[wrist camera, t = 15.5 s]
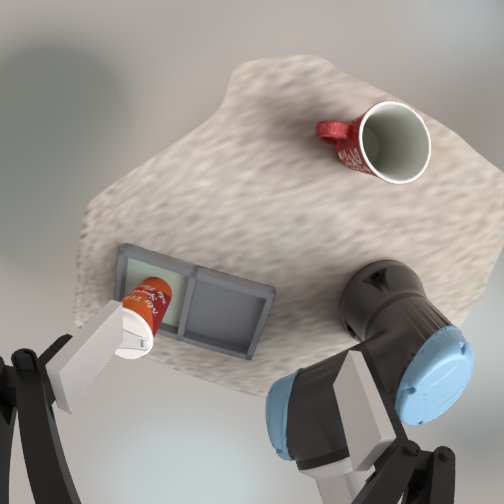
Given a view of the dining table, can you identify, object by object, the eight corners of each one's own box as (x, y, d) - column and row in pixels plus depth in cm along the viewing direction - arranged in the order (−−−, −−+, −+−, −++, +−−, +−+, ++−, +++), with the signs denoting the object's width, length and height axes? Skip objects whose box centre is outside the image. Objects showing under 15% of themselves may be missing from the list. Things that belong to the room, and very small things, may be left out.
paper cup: (180, 275, 46) (149, 320, 32) (177, 316, 48) (150, 368, 35) (135, 266, 45) (93, 305, 32) (135, 307, 48) (99, 353, 35)
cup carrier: (274, 287, 46) (275, 295, 44) (251, 350, 50) (250, 360, 47) (126, 243, 45) (119, 248, 42) (119, 309, 49) (112, 316, 46)
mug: (390, 125, 38) (436, 116, 25) (380, 182, 41) (424, 193, 28) (310, 104, 38) (330, 80, 25) (300, 163, 40) (317, 164, 28)
